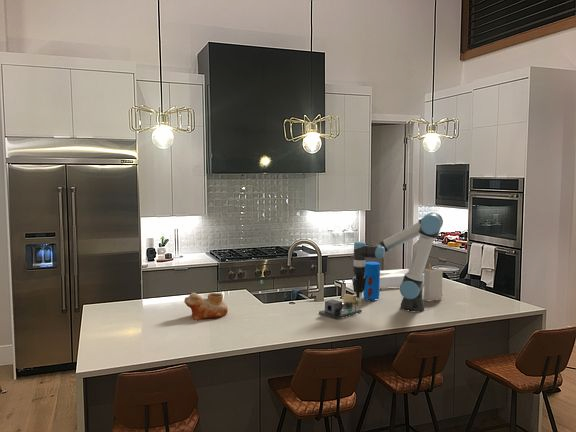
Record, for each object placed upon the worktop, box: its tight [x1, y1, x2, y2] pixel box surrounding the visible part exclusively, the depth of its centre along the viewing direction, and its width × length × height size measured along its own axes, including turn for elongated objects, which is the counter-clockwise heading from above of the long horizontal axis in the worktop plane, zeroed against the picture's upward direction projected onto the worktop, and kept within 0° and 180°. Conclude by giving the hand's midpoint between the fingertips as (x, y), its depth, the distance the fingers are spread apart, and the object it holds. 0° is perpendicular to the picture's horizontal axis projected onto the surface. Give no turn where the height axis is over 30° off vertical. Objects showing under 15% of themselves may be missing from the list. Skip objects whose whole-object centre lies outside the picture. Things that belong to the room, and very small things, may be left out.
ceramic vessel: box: [184, 292, 228, 321], centre depth 317 cm, size 14×26×15 cm, turn 111°
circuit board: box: [318, 298, 363, 320], centre depth 328 cm, size 15×23×8 cm, turn 132°
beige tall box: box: [423, 263, 444, 301], centre depth 364 cm, size 8×12×26 cm
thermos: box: [362, 261, 381, 301], centre depth 363 cm, size 11×11×25 cm
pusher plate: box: [342, 293, 362, 308], centre depth 327 cm, size 12×16×8 cm
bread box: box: [379, 268, 424, 288], centre depth 407 cm, size 45×22×10 cm, turn 110°
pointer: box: [346, 302, 352, 311], centre depth 323 cm, size 3×2×5 cm, turn 42°
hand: (358, 302), depth 339 cm, fingers closed
